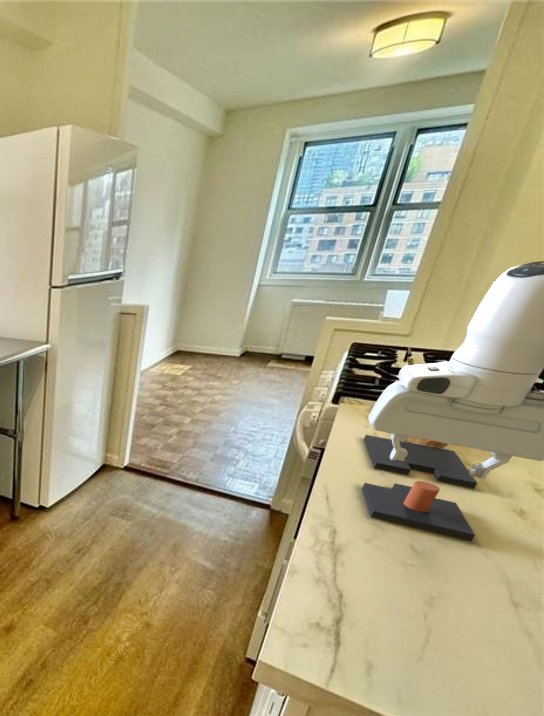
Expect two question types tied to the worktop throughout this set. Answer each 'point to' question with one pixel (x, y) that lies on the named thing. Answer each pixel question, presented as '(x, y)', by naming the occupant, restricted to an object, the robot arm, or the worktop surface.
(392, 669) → the worktop surface
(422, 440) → the pastry
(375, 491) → the tab pad
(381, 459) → the notch pad
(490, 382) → the robot arm
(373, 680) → the worktop surface
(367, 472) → the worktop surface
